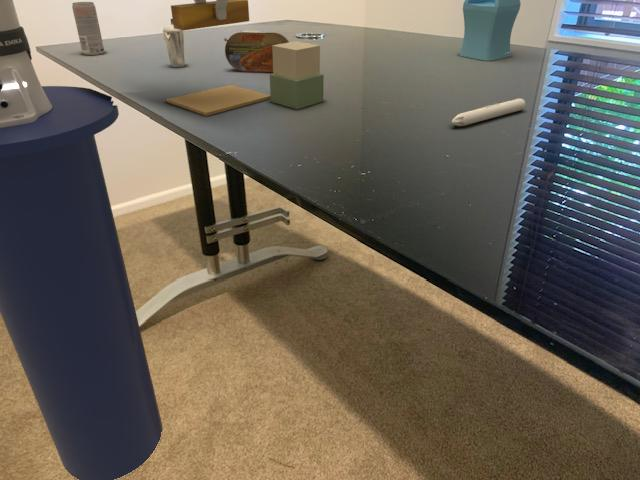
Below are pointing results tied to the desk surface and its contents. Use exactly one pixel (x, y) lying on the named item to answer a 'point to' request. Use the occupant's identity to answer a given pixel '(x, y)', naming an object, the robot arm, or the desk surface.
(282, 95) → the tower
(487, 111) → the marker
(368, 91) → the desk surface
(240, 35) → the tin
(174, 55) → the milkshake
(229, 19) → the bar
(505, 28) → the vase
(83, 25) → the energy drink
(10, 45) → the robot arm
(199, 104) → the mat
